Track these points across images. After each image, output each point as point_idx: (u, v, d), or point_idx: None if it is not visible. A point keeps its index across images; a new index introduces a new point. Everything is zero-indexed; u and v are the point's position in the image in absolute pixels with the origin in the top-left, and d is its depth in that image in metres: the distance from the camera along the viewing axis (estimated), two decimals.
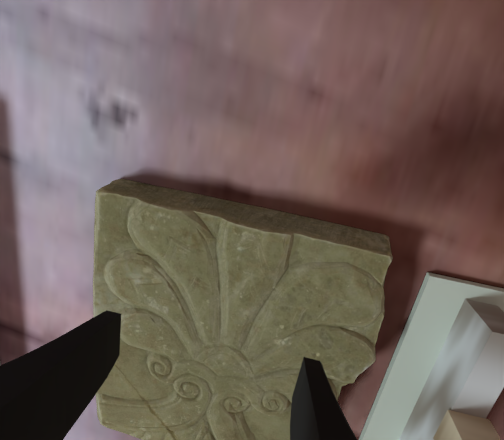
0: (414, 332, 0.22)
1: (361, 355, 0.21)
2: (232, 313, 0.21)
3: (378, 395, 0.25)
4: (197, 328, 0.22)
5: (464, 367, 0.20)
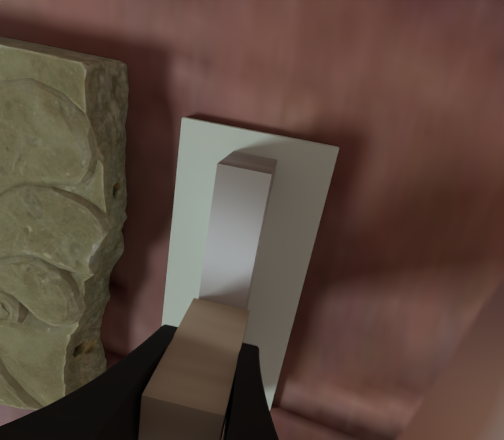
0: (182, 208, 0.16)
1: (83, 226, 0.15)
2: None
3: (165, 307, 0.19)
4: None
5: None
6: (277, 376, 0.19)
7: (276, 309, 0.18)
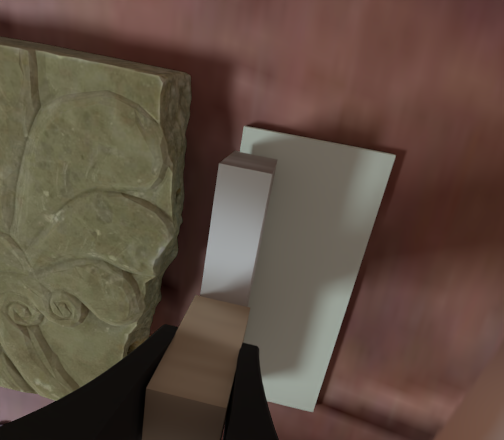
0: None
1: (150, 230, 0.16)
2: None
3: None
4: None
5: None
6: (323, 374, 0.20)
7: (326, 309, 0.18)
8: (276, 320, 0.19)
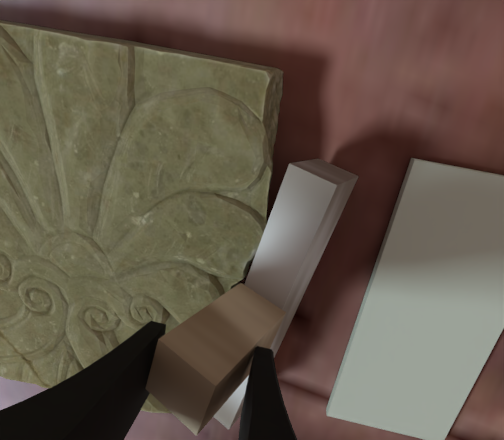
0: (395, 245, 0.17)
1: (245, 232, 0.15)
2: (70, 178, 0.15)
3: (351, 338, 0.19)
4: (33, 208, 0.16)
5: None
6: (460, 406, 0.19)
7: (474, 342, 0.18)
8: (417, 353, 0.18)
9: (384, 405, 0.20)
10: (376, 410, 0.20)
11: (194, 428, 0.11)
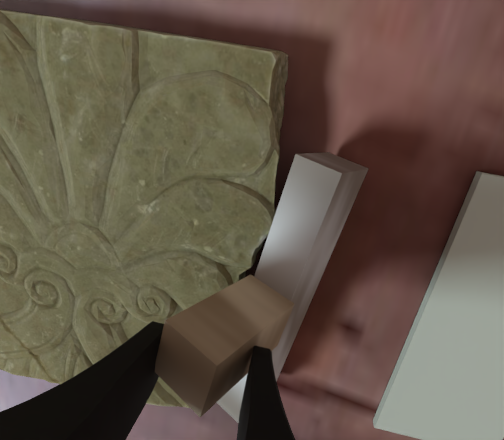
0: (456, 258, 0.16)
1: (253, 218, 0.15)
2: (75, 167, 0.15)
3: (403, 350, 0.19)
4: (38, 199, 0.16)
5: None
6: None
7: None
8: (472, 366, 0.18)
9: (434, 417, 0.20)
10: (426, 423, 0.20)
11: (197, 409, 0.11)
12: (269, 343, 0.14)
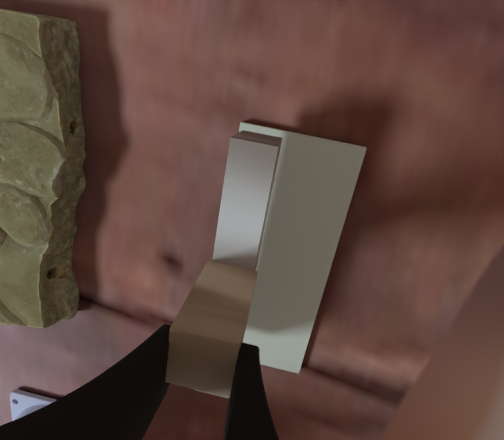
0: None
1: (44, 153, 0.18)
2: None
3: None
4: None
5: None
6: (308, 338, 0.23)
7: (309, 281, 0.21)
8: (267, 291, 0.22)
9: (247, 339, 0.23)
10: None
11: (225, 392, 0.12)
12: None
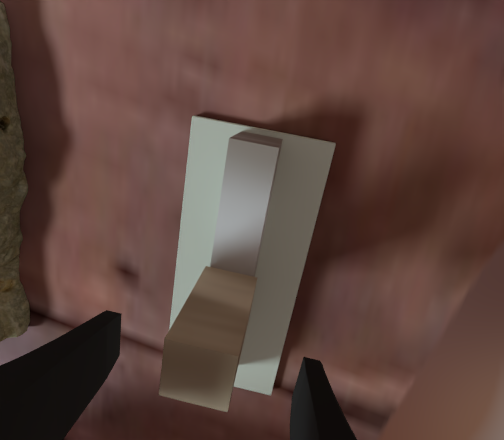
0: (192, 199, 0.18)
1: None
2: None
3: (174, 293, 0.20)
4: None
5: None
6: (279, 357, 0.20)
7: (278, 294, 0.19)
8: None
9: None
10: None
11: (223, 406, 0.11)
12: None
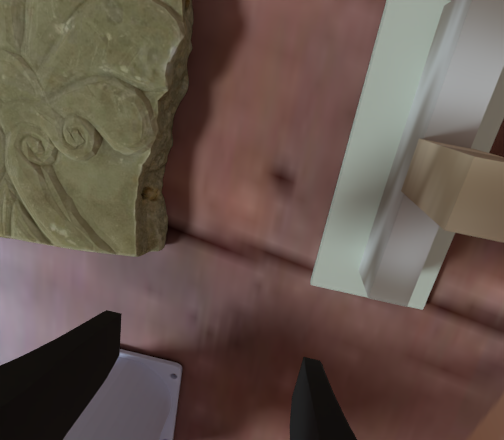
0: (374, 88, 0.17)
1: (161, 27, 0.15)
2: None
3: (333, 198, 0.20)
4: None
5: (441, 73, 0.14)
6: (439, 265, 0.20)
7: None
8: None
9: None
10: (358, 275, 0.21)
11: None
12: None
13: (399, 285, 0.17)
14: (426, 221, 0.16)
